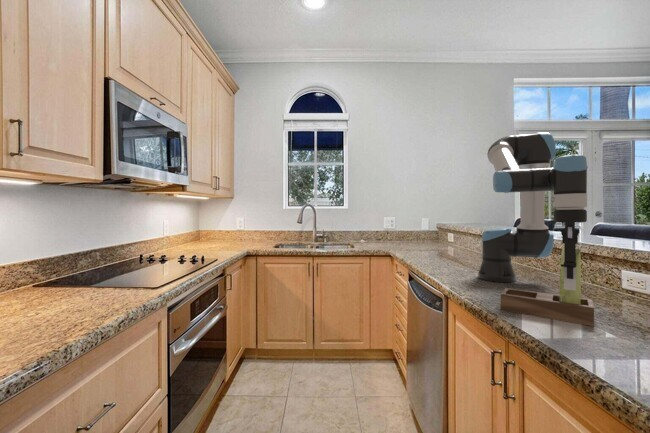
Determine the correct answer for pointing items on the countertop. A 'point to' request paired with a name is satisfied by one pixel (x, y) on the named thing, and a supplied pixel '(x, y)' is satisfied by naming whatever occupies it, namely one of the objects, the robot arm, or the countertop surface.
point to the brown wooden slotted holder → (547, 306)
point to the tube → (572, 295)
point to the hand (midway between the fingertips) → (569, 287)
